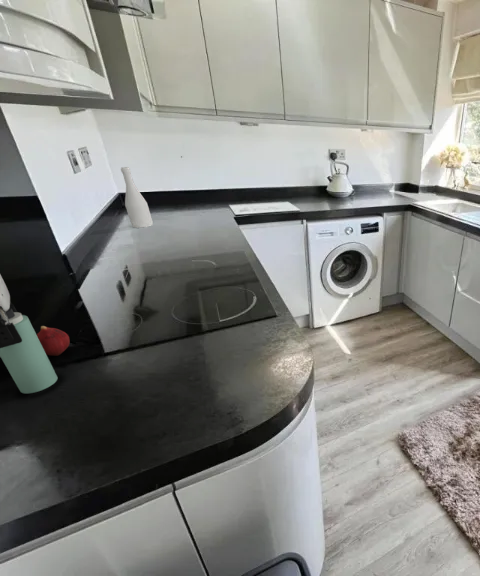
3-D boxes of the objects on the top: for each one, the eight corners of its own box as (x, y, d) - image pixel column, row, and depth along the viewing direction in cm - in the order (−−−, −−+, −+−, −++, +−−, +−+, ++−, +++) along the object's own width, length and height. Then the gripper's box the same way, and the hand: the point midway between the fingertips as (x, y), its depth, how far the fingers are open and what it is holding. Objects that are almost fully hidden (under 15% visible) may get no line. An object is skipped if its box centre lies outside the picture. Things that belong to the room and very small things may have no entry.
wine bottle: (149, 227, 172) (131, 168, 159) (129, 228, 170) (109, 168, 157) (156, 223, 181) (139, 166, 167) (137, 224, 179) (118, 166, 165)
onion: (79, 345, 80) (66, 317, 76) (67, 360, 75) (52, 330, 71) (50, 349, 78) (35, 321, 74) (35, 364, 73) (18, 335, 69)
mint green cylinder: (58, 384, 68) (20, 397, 64) (56, 371, 71) (19, 383, 67) (22, 311, 60) (-24, 322, 57) (22, 301, 64) (-22, 310, 60)
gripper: (-67, 242, 57) (-17, 323, 65) (-85, 269, 47) (-23, 363, 54) (-5, 234, 62) (35, 310, 70) (-8, 257, 52) (40, 345, 59)
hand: (10, 333), depth 62 cm, fingers open, 9 cm apart
